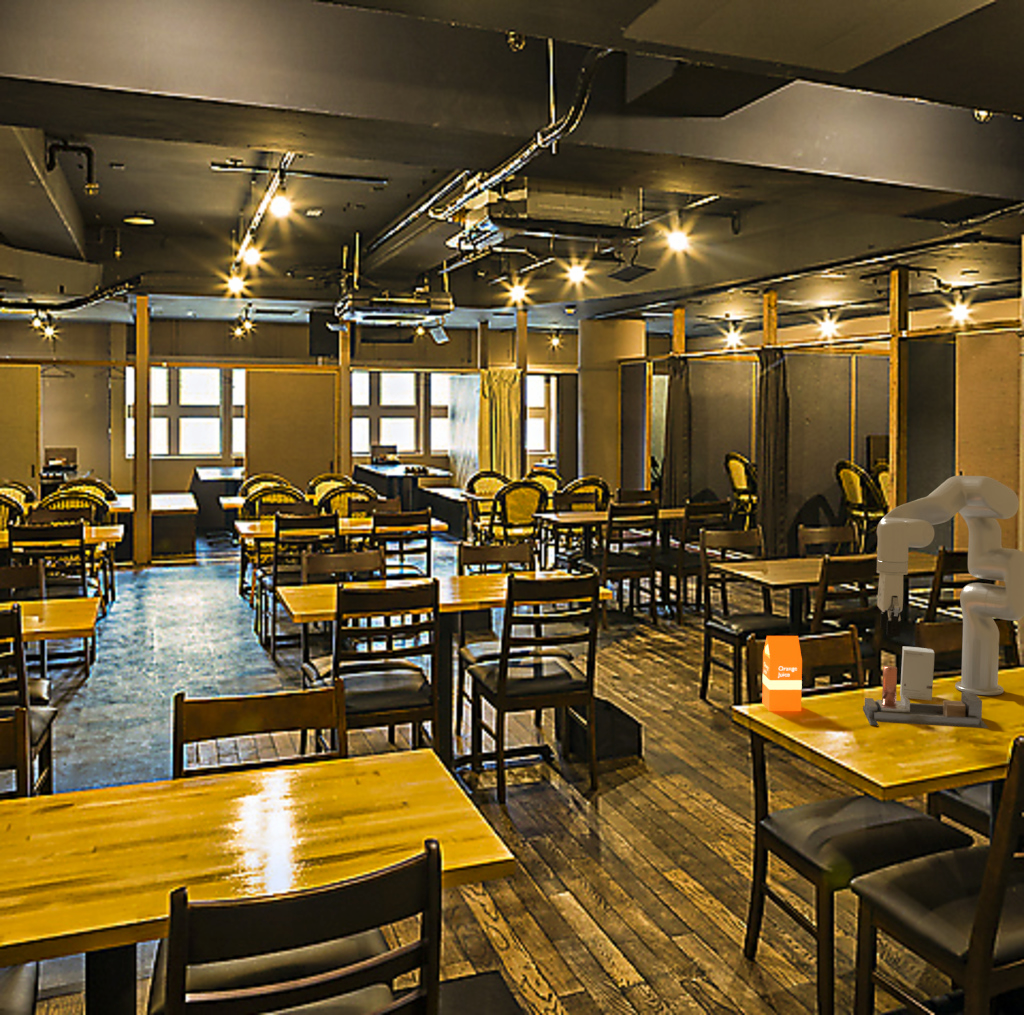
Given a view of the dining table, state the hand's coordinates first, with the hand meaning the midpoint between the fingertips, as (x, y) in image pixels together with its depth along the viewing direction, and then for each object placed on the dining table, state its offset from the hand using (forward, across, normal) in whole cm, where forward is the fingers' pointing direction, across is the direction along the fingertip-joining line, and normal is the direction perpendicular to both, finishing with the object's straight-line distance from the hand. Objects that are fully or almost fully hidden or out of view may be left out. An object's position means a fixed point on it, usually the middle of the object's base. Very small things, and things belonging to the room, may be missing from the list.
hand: (890, 632), depth 242 cm
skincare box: (+23, -20, +11) cm, 33 cm away
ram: (+22, 0, +1) cm, 22 cm away
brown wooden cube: (+22, 0, +16) cm, 27 cm away
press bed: (+23, 0, +9) cm, 25 cm away
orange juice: (+24, -6, -27) cm, 36 cm away
